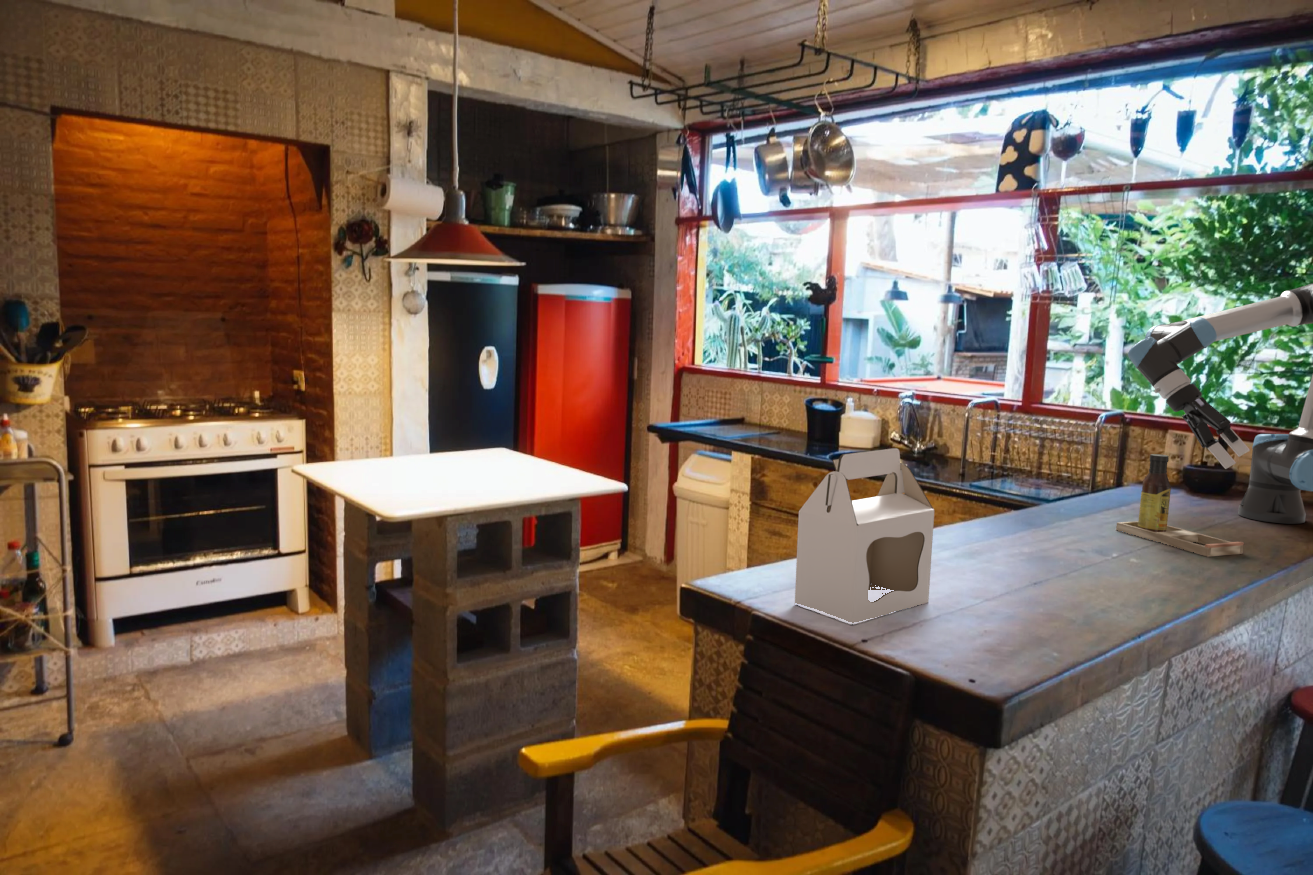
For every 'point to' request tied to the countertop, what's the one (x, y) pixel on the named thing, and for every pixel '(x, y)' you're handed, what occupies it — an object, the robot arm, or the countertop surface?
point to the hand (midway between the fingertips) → (1237, 460)
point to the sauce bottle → (1155, 496)
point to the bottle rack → (1185, 540)
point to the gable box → (865, 540)
